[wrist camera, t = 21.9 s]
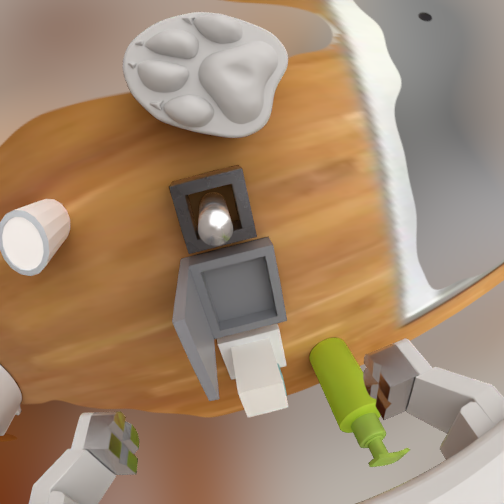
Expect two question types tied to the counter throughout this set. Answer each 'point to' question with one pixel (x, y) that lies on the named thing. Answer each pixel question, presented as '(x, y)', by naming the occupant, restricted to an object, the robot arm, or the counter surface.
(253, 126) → the lumpy-topped squat cylinder
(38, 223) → the white faceted tapered cup
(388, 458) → the soap dispenser
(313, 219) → the counter surface
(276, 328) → the plate
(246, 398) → the block
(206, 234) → the rod
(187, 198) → the rod bracket
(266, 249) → the grey device stand
